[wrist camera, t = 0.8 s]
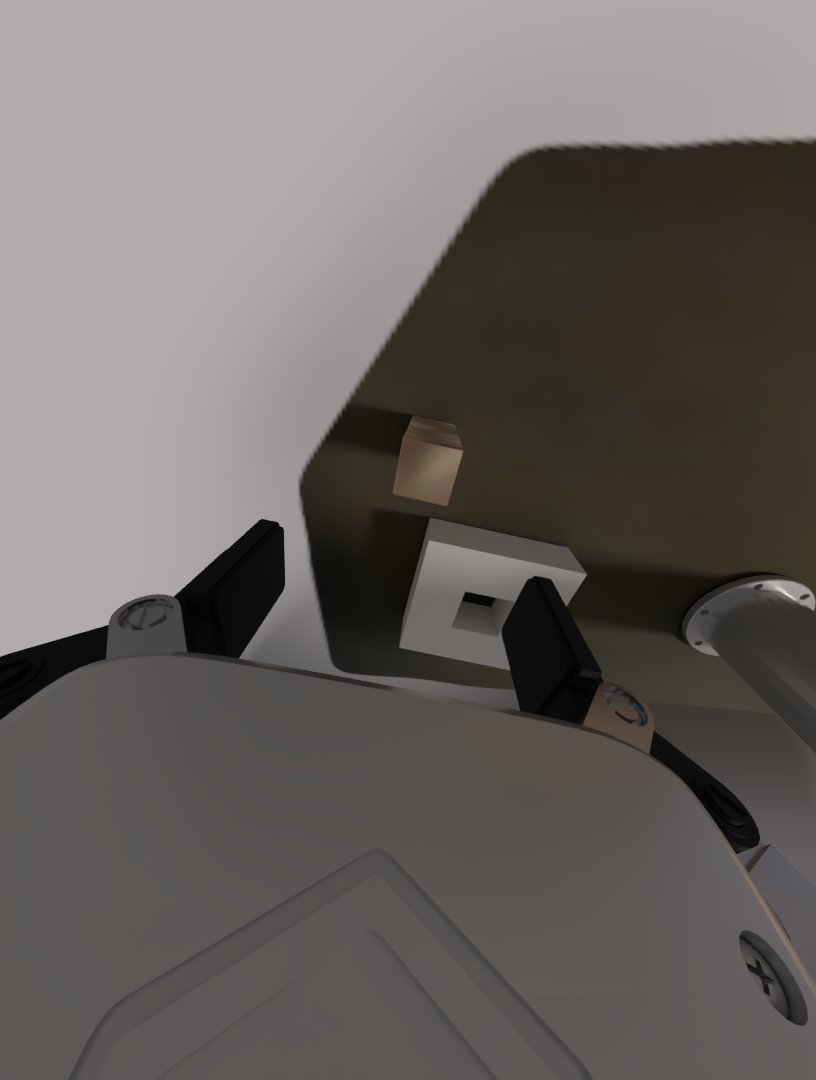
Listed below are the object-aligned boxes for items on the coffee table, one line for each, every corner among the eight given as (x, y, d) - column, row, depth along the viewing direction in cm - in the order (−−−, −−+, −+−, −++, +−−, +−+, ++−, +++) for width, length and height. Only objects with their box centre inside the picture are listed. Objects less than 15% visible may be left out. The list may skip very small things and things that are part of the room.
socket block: (567, 547, 34) (587, 574, 29) (514, 641, 42) (523, 672, 38) (429, 517, 33) (429, 540, 29) (403, 618, 41) (399, 647, 37)
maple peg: (455, 424, 28) (463, 450, 19) (444, 465, 30) (447, 506, 22) (413, 415, 28) (402, 437, 19) (405, 457, 30) (392, 494, 21)
